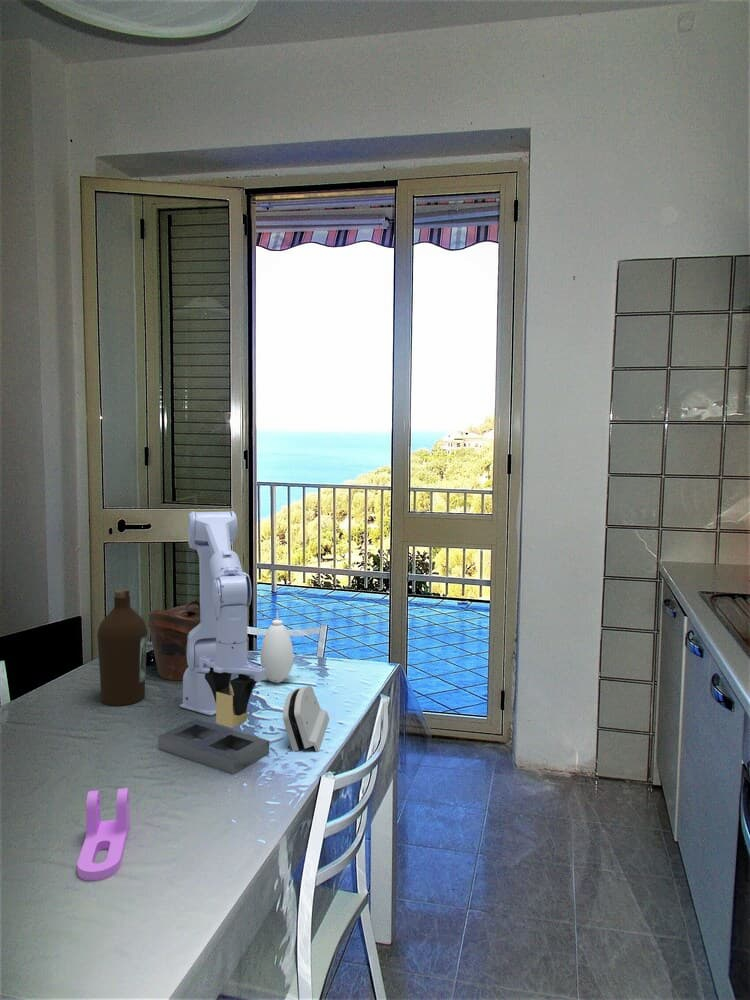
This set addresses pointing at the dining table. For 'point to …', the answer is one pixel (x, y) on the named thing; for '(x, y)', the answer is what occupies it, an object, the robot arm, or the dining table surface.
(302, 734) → the grey piece
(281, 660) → the sauce bottle
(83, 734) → the dining table surface
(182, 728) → the grey peg hole base
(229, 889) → the dining table surface
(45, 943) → the dining table surface
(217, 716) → the tan rectangular block
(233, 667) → the robot arm
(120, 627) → the olive oil
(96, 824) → the bracket
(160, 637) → the terracotta flower pot
